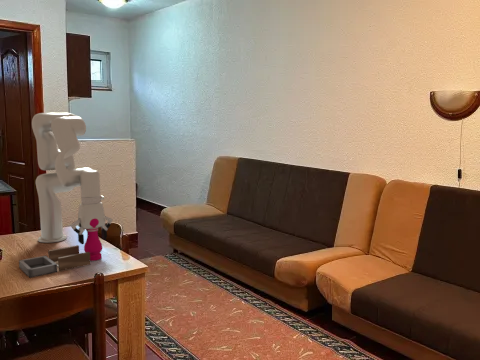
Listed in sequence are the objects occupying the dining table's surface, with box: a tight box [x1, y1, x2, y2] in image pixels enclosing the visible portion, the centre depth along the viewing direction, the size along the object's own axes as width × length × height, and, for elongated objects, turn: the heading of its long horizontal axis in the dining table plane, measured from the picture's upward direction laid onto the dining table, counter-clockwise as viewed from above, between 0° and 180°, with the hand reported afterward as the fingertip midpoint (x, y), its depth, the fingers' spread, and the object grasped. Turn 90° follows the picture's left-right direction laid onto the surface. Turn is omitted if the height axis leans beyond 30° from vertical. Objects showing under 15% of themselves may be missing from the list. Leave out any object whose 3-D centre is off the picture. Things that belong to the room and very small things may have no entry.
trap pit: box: [18, 255, 58, 279], centre depth 177 cm, size 14×10×3 cm
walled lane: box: [47, 244, 91, 272], centre depth 185 cm, size 13×12×5 cm
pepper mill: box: [83, 219, 103, 262], centre depth 190 cm, size 7×7×20 cm
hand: (93, 241), depth 190 cm, fingers open, 9 cm apart
